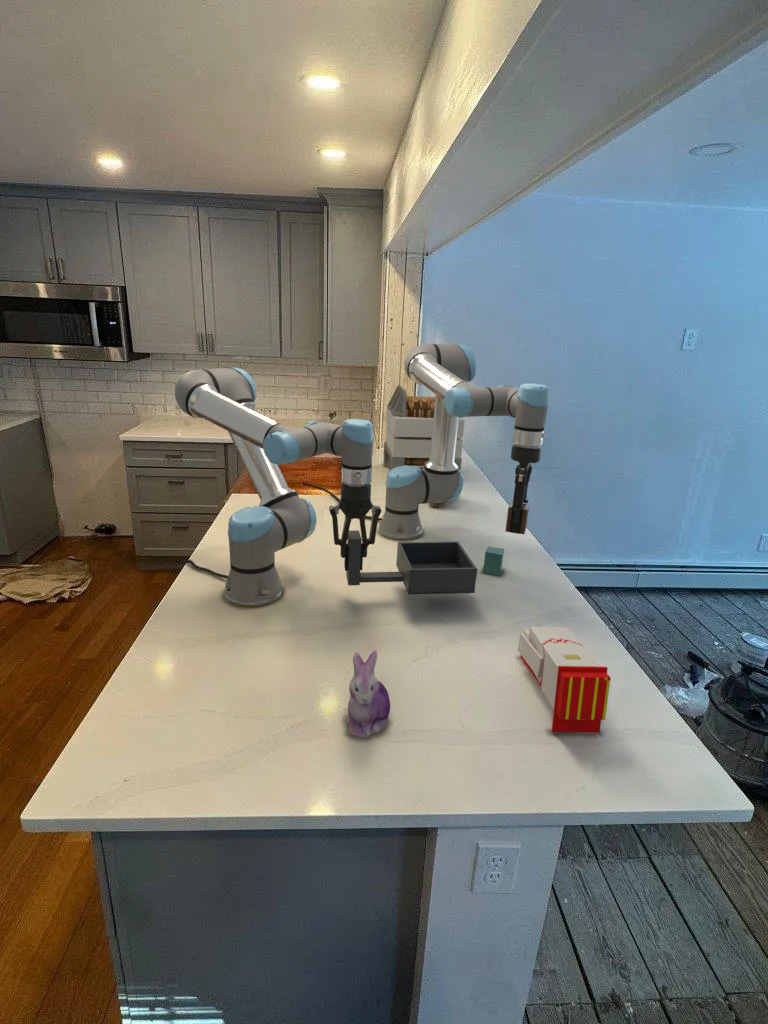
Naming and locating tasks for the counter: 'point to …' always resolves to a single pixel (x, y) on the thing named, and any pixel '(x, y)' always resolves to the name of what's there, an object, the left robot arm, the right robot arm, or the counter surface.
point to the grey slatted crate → (412, 431)
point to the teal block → (493, 560)
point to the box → (419, 567)
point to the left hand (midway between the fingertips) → (353, 567)
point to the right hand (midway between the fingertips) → (516, 528)
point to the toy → (566, 678)
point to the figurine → (367, 699)
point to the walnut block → (524, 518)
